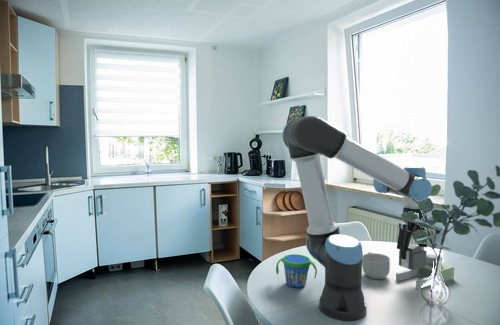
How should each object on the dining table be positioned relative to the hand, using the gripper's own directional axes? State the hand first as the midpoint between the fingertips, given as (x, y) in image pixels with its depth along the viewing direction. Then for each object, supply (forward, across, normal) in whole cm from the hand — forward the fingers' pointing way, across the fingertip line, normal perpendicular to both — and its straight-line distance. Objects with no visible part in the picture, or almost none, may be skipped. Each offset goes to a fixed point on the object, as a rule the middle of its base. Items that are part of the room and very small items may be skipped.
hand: (412, 264), depth 134 cm
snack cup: (+7, -40, +21) cm, 46 cm away
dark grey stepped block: (0, 0, 0) cm, 0 cm away
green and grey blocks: (+8, +8, 0) cm, 11 cm away
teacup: (+8, -6, +13) cm, 16 cm away
